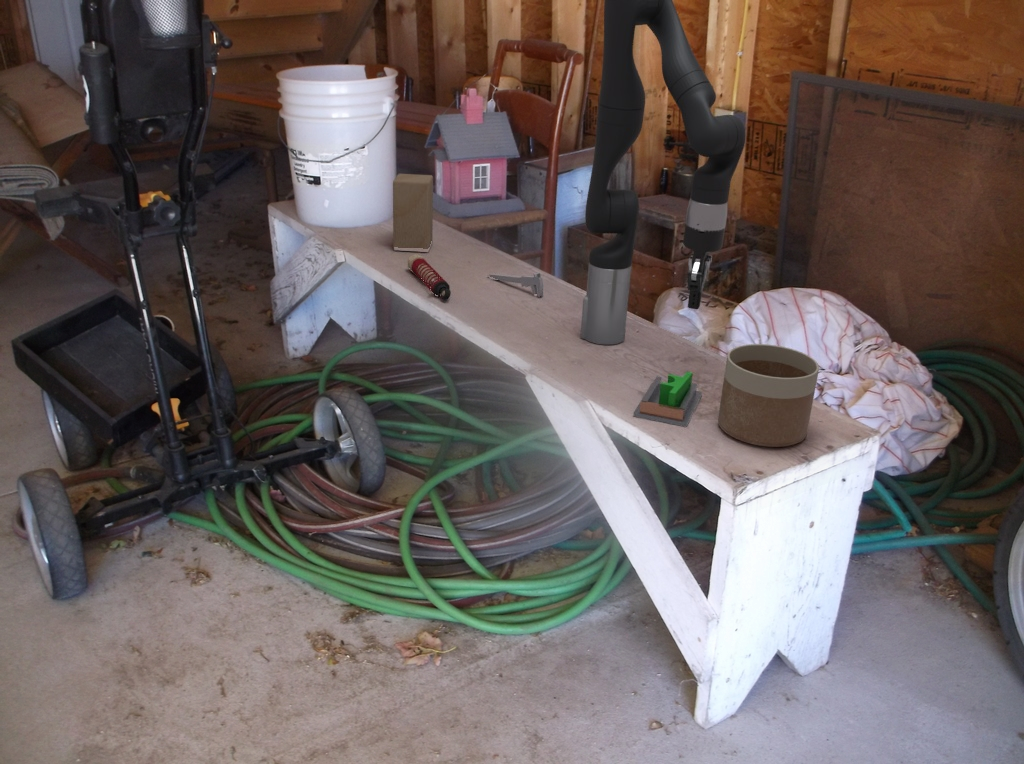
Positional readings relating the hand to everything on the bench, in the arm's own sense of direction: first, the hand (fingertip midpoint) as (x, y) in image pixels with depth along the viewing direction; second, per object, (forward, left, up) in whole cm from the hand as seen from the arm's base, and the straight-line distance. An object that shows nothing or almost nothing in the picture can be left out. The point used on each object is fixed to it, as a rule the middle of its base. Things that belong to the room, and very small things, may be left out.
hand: (693, 307), depth 188 cm
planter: (+18, -18, -15) cm, 30 cm away
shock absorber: (-72, +29, -15) cm, 79 cm away
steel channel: (0, -16, -15) cm, 22 cm away
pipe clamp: (+1, -15, -14) cm, 21 cm away
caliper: (-52, +37, -15) cm, 66 cm away
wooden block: (-90, +57, -15) cm, 108 cm away
